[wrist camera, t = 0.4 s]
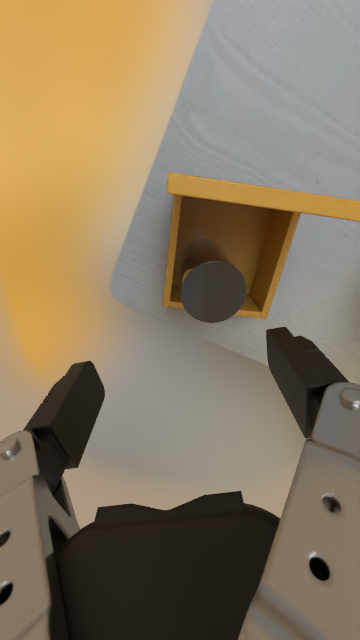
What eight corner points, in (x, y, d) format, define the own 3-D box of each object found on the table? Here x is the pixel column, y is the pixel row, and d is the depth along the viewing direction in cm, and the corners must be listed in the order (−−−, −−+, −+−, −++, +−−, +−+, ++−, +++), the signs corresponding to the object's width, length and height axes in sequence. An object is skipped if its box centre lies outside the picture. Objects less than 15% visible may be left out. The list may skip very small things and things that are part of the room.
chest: (251, 298, 35) (266, 319, 29) (165, 287, 34) (162, 306, 28) (278, 202, 29) (304, 204, 23) (176, 187, 29) (175, 185, 23)
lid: (432, 232, 11) (443, 213, 11) (166, 193, 11) (168, 172, 10) (304, 208, 23) (307, 199, 23) (174, 189, 22) (175, 179, 22)
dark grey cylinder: (183, 235, 30) (185, 256, 20) (228, 241, 31) (254, 265, 20) (178, 279, 33) (176, 319, 22) (219, 284, 33) (237, 326, 23)
